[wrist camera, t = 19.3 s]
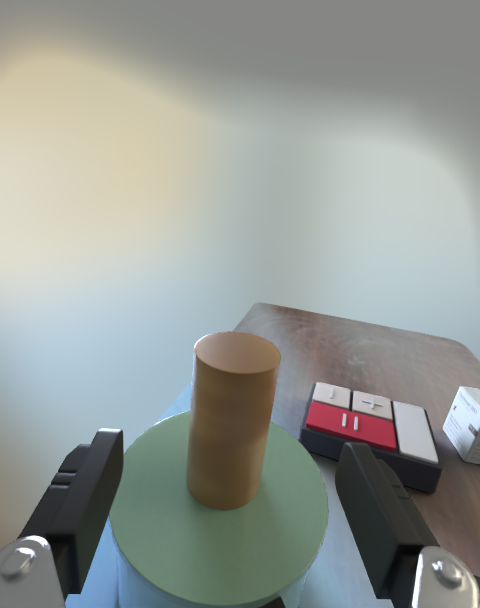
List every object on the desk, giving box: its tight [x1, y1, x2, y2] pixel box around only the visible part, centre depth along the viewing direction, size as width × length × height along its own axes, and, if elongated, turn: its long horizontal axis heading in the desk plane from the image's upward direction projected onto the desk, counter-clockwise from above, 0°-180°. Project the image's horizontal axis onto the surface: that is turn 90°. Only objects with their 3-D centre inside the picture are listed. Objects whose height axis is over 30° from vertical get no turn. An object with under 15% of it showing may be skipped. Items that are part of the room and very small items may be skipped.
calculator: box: [299, 382, 443, 493], centre depth 41 cm, size 11×4×15 cm
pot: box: [108, 411, 329, 608], centre depth 24 cm, size 15×17×10 cm
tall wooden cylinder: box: [186, 332, 281, 510], centre depth 21 cm, size 5×5×10 cm
